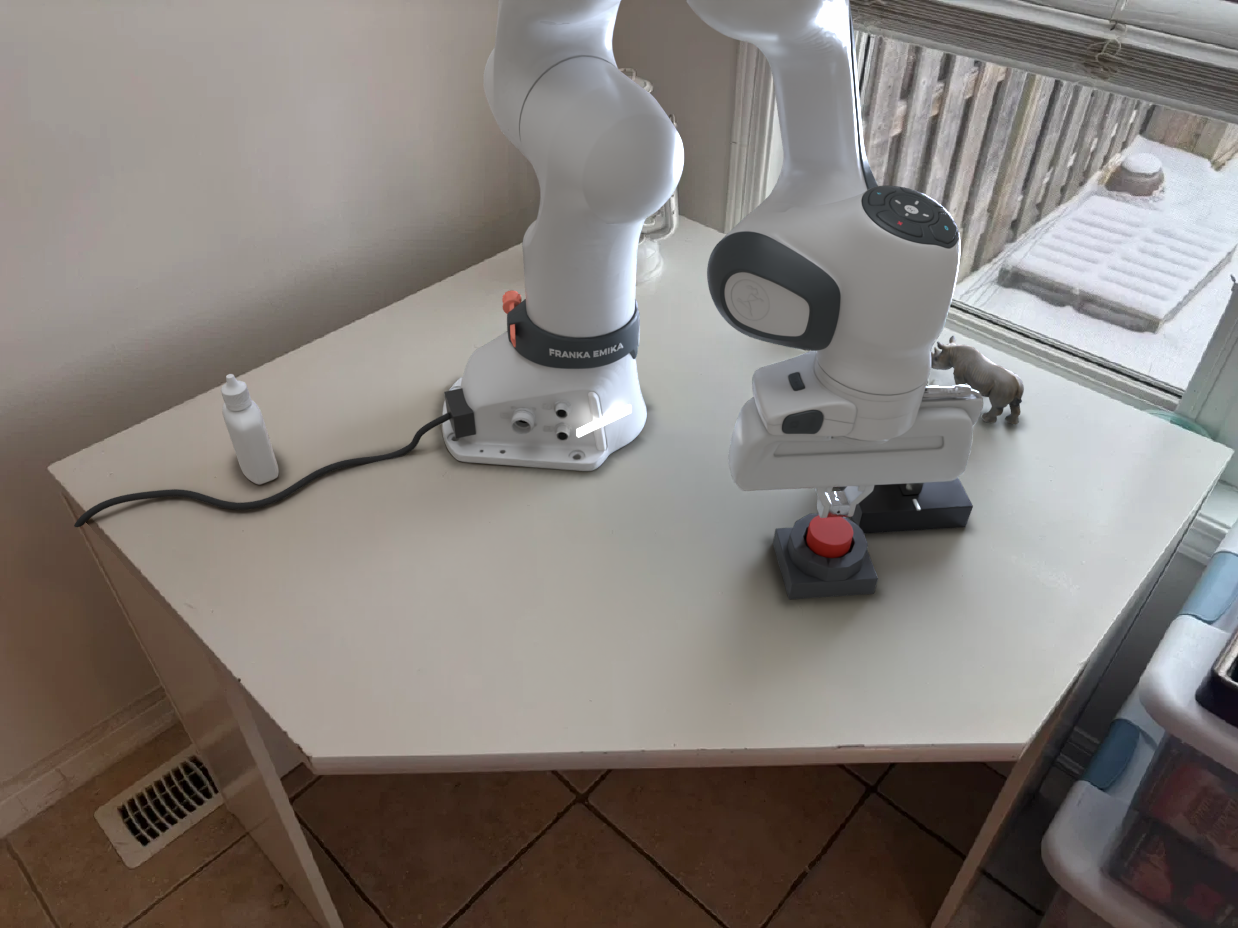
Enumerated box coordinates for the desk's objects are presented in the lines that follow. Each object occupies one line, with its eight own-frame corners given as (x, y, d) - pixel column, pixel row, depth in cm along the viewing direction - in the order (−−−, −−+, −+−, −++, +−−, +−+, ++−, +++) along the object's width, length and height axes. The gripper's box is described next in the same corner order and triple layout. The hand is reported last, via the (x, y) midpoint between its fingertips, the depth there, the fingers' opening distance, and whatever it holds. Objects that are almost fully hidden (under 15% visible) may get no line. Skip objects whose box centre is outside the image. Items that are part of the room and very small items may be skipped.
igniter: (788, 600, 89) (794, 571, 86) (772, 543, 94) (777, 514, 91) (874, 594, 90) (882, 565, 87) (853, 538, 95) (860, 509, 92)
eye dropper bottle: (285, 449, 103) (258, 357, 95) (277, 485, 99) (248, 392, 91) (242, 451, 103) (212, 359, 95) (233, 488, 99) (200, 395, 91)
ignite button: (812, 560, 88) (814, 546, 87) (801, 528, 91) (804, 514, 90) (855, 557, 88) (858, 544, 87) (843, 525, 91) (846, 512, 90)
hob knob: (887, 461, 99) (896, 429, 96) (904, 459, 99) (913, 428, 96) (902, 495, 95) (912, 463, 92) (920, 494, 95) (930, 462, 92)
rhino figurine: (933, 358, 117) (945, 316, 113) (1025, 421, 108) (1041, 378, 104) (908, 369, 115) (920, 327, 111) (999, 434, 107) (1015, 391, 103)
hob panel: (857, 535, 95) (863, 512, 93) (833, 471, 102) (838, 448, 100) (966, 528, 96) (974, 505, 94) (934, 465, 103) (942, 443, 101)
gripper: (974, 362, 81) (933, 482, 91) (734, 370, 79) (717, 493, 89) (1004, 409, 77) (958, 531, 86) (749, 420, 75) (730, 543, 84)
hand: (834, 512), depth 87 cm, fingers closed
